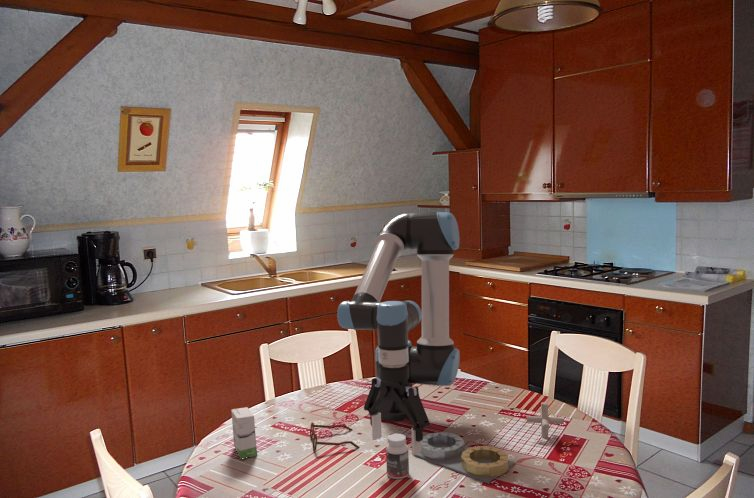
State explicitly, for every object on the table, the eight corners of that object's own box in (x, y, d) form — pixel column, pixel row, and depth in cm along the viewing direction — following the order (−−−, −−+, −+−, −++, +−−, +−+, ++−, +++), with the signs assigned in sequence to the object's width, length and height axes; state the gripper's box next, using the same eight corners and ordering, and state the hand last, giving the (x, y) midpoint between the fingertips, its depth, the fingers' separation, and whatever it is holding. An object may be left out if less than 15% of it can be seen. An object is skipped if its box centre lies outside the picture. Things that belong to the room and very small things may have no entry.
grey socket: (411, 451, 162) (411, 442, 162) (438, 437, 171) (437, 429, 171) (446, 464, 154) (445, 455, 154) (472, 448, 163) (471, 440, 162)
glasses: (309, 436, 177) (308, 420, 177) (352, 431, 180) (351, 415, 179) (314, 455, 164) (313, 438, 164) (360, 449, 167) (359, 432, 167)
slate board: (412, 455, 161) (412, 453, 161) (442, 439, 171) (441, 437, 171) (487, 483, 145) (487, 481, 145) (515, 463, 154) (515, 462, 154)
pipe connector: (565, 445, 163) (564, 410, 162) (527, 443, 165) (527, 409, 164) (561, 430, 173) (561, 397, 172) (526, 429, 175) (525, 396, 174)
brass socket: (452, 467, 153) (452, 457, 152) (478, 451, 161) (478, 442, 161) (491, 481, 145) (491, 471, 144) (517, 464, 153) (516, 454, 153)
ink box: (257, 456, 165) (255, 415, 163) (240, 460, 162) (237, 419, 161) (250, 444, 172) (247, 405, 171) (233, 448, 170) (230, 408, 169)
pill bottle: (382, 474, 151) (380, 437, 150) (397, 466, 155) (396, 430, 154) (398, 482, 147) (396, 444, 146) (413, 474, 151) (412, 436, 150)
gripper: (348, 358, 154) (351, 437, 156) (422, 376, 137) (425, 465, 139) (368, 352, 159) (371, 428, 161) (442, 369, 142) (444, 454, 144)
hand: (396, 445), depth 150 cm, fingers open, 13 cm apart
